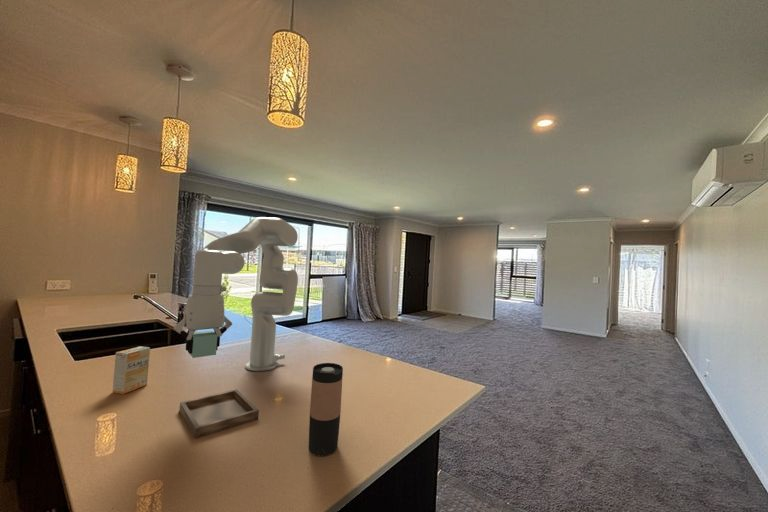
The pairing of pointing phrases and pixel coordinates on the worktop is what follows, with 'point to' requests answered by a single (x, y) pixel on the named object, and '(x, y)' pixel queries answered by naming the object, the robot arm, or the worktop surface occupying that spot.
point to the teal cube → (204, 344)
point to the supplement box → (131, 369)
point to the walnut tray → (217, 412)
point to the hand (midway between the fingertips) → (202, 350)
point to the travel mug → (325, 408)
